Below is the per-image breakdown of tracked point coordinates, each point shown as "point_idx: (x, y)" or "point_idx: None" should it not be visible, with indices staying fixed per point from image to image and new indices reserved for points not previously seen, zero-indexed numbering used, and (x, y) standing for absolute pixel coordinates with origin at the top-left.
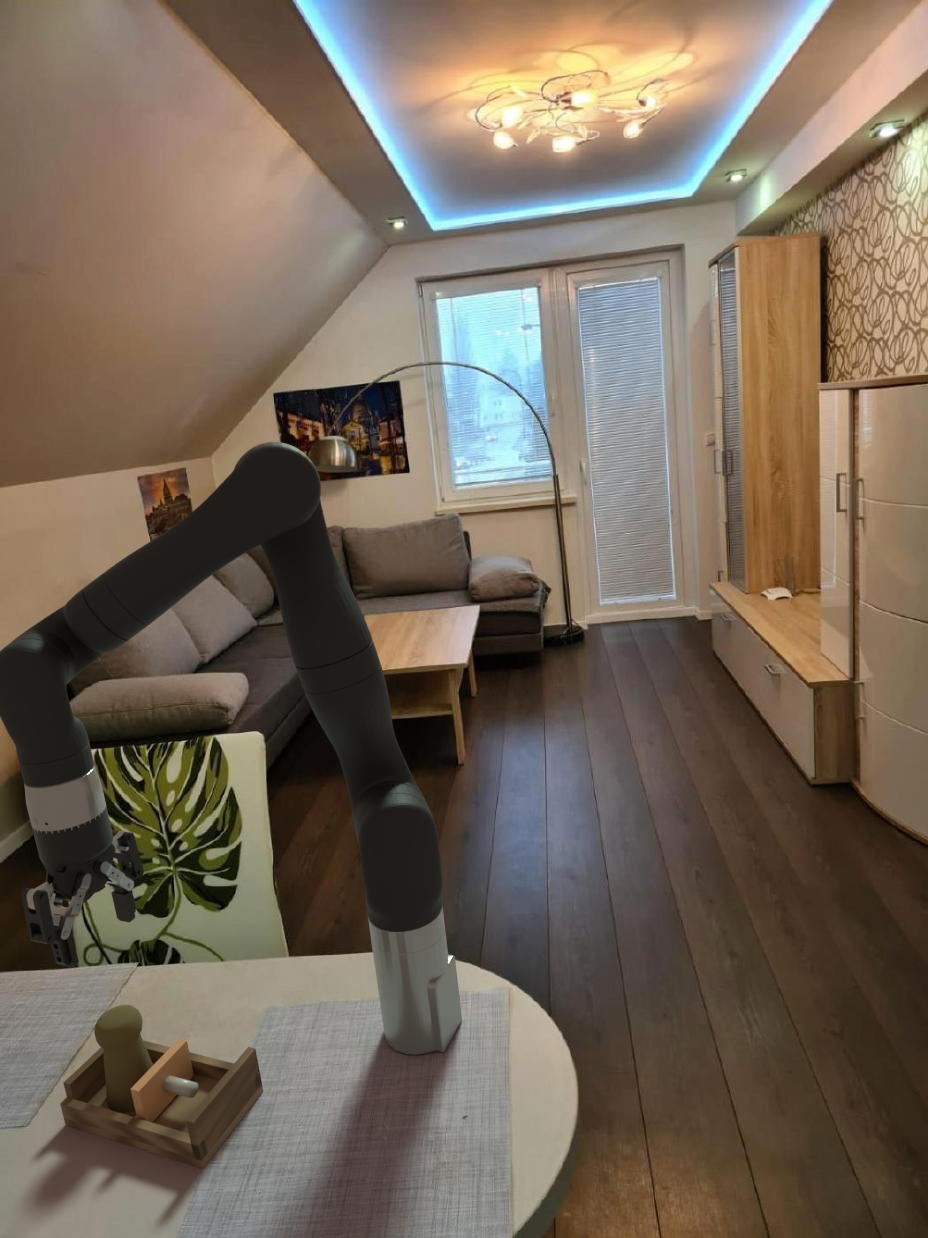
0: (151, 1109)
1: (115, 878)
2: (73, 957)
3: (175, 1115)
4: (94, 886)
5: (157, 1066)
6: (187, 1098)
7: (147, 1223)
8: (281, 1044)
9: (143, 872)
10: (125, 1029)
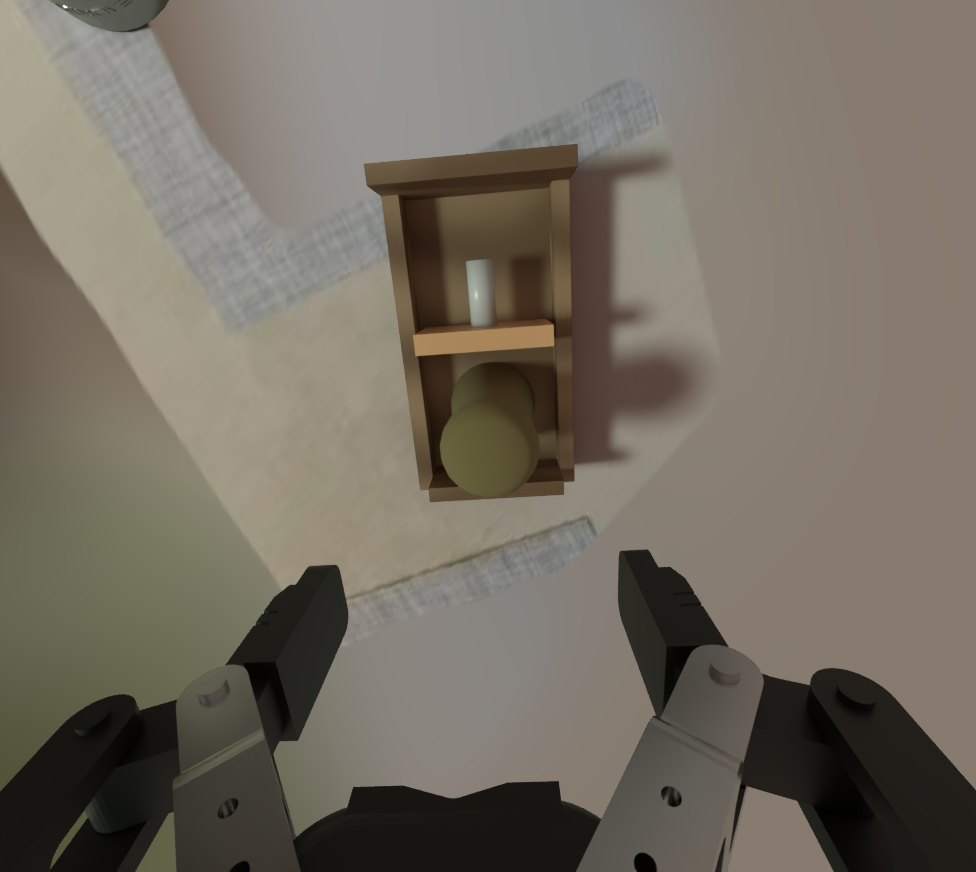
0: (530, 321)
1: (257, 802)
2: (652, 570)
3: (503, 295)
4: (439, 862)
5: (490, 339)
6: (467, 303)
7: (671, 187)
8: (288, 236)
9: (80, 711)
10: (505, 411)
